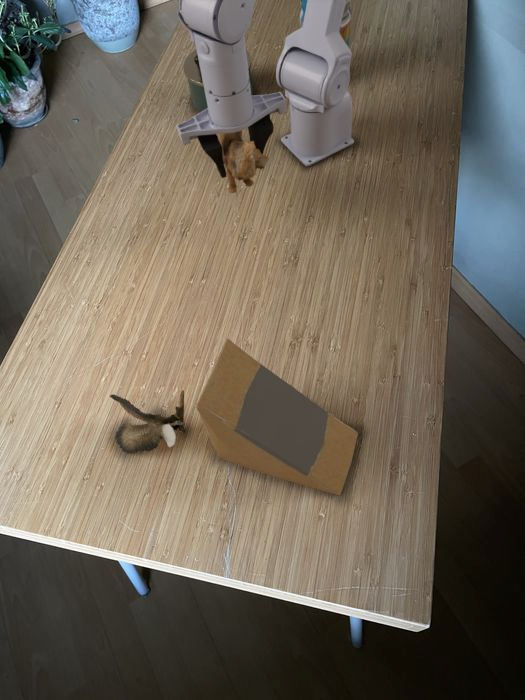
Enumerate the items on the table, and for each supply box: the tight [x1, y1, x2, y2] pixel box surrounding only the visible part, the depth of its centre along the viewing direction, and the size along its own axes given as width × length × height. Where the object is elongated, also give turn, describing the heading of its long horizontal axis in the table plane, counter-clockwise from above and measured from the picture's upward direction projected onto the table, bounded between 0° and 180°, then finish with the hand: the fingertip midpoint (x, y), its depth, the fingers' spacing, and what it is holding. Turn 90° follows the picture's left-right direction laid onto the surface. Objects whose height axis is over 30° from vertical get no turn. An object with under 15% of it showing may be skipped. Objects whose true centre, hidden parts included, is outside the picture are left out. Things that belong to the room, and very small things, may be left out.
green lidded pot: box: [182, 48, 254, 113], centre depth 101 cm, size 12×12×10 cm
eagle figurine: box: [109, 389, 186, 455], centre depth 71 cm, size 8×7×9 cm
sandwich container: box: [195, 337, 359, 496], centre depth 65 cm, size 9×15×15 cm, turn 71°
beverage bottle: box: [299, 0, 352, 48], centre depth 98 cm, size 8×8×20 cm
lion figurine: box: [218, 130, 270, 194], centre depth 82 cm, size 15×5×9 cm, turn 22°
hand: (239, 167), depth 84 cm, fingers closed on lion figurine, 5 cm apart
